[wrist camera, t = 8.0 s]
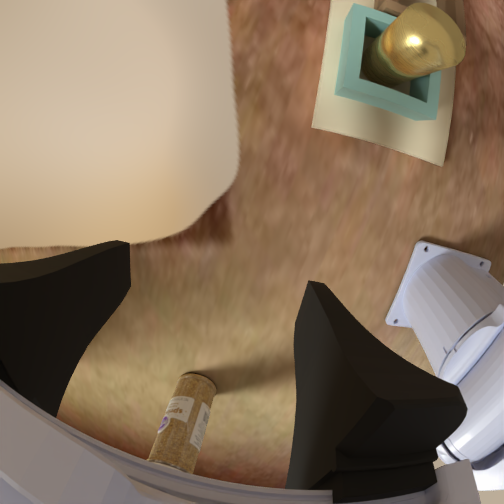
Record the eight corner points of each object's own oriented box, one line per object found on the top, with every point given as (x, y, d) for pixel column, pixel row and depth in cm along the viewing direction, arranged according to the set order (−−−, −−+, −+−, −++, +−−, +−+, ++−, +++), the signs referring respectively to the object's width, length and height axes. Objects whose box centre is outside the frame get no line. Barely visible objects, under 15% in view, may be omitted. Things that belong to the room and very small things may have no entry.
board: (446, -15, 10) (451, -19, 9) (436, 165, 17) (442, 166, 16) (336, -57, 10) (338, -63, 9) (311, 127, 17) (312, 126, 16)
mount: (444, -2, 10) (461, -14, 7) (445, 53, 12) (466, 45, 10) (375, -32, 10) (385, -50, 7) (372, 23, 13) (386, 7, 10)
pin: (406, 55, 13) (465, 23, 6) (400, 94, 15) (464, 78, 7) (363, 39, 13) (404, -8, 6) (357, 79, 15) (401, 47, 7)
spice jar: (183, 365, 27) (139, 473, 15) (223, 381, 28) (194, 493, 15) (174, 387, 29) (136, 483, 17) (210, 401, 30) (182, 500, 17)
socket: (423, 48, 13) (442, 38, 10) (415, 120, 15) (436, 119, 12) (344, 20, 13) (353, 2, 10) (333, 94, 15) (343, 87, 13)
